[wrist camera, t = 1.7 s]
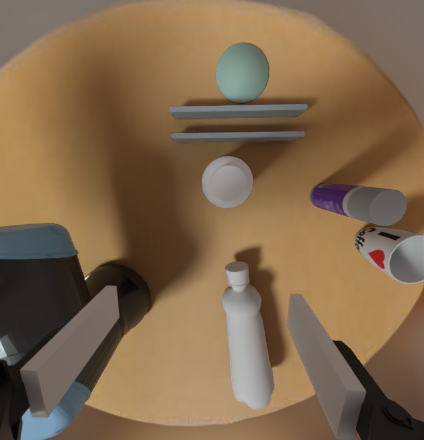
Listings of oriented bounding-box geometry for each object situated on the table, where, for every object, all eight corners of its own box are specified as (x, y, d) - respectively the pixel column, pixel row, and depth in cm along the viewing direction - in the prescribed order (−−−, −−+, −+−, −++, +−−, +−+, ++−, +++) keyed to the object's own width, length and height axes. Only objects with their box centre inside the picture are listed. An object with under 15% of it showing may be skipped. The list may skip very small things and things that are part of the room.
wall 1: (174, 119, 36) (169, 112, 32) (174, 114, 35) (169, 106, 31) (297, 116, 35) (307, 109, 31) (297, 112, 35) (307, 104, 31)
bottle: (280, 382, 44) (267, 259, 39) (266, 425, 37) (248, 282, 32) (244, 365, 50) (228, 255, 44) (225, 400, 43) (204, 273, 37)
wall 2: (176, 142, 36) (171, 138, 32) (175, 137, 36) (171, 133, 32) (295, 140, 36) (304, 136, 32) (295, 136, 36) (305, 131, 32)
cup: (358, 214, 39) (406, 227, 29) (395, 228, 39) (454, 245, 29) (339, 250, 40) (378, 274, 31) (374, 263, 41) (423, 290, 31)
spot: (216, 103, 35) (216, 103, 35) (215, 44, 33) (215, 43, 33) (267, 102, 35) (267, 102, 34) (269, 42, 33) (270, 42, 32)
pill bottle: (199, 192, 38) (191, 201, 25) (212, 155, 37) (210, 143, 24) (235, 205, 39) (244, 220, 26) (249, 169, 37) (267, 165, 24)
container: (305, 200, 38) (359, 216, 24) (318, 178, 37) (384, 181, 23) (325, 211, 39) (391, 233, 24) (339, 190, 38) (417, 199, 23)
